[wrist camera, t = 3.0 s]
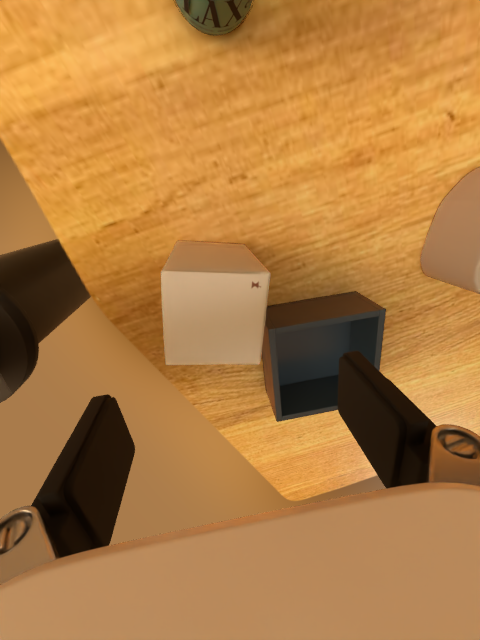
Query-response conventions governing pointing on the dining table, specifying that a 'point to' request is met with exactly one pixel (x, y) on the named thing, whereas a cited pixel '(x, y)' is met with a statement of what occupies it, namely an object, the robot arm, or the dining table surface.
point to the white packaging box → (213, 304)
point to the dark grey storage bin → (316, 349)
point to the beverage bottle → (214, 14)
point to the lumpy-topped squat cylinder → (456, 237)
